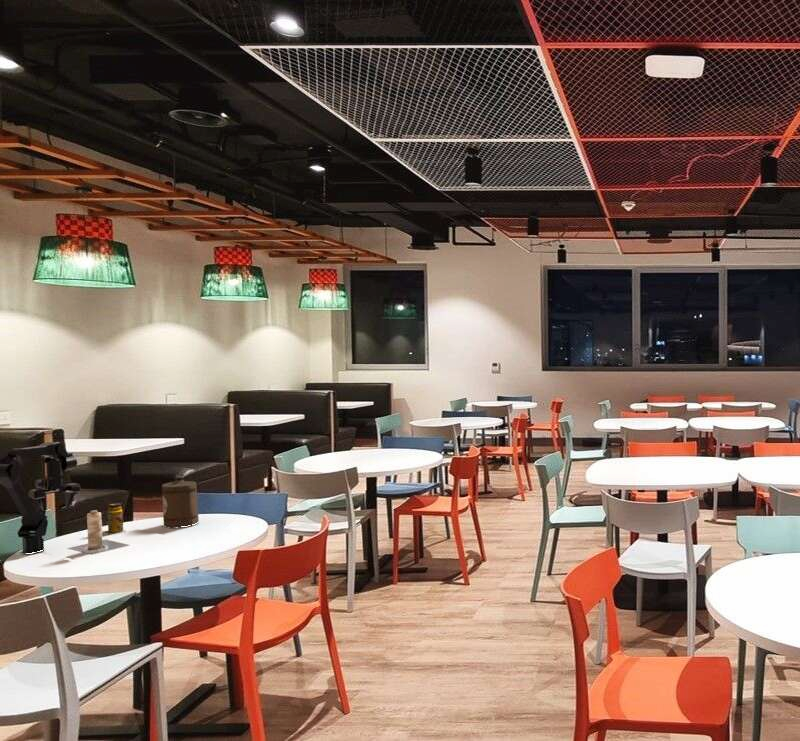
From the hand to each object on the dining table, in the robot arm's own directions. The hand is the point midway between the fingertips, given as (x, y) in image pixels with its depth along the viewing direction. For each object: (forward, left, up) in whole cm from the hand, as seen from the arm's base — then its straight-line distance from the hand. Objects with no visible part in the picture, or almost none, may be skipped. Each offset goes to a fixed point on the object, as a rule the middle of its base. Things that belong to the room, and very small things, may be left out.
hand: (55, 511), depth 297 cm
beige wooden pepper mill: (+1, -28, -12) cm, 30 cm away
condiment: (+24, -1, -13) cm, 27 cm away
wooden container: (+48, -15, -13) cm, 52 cm away
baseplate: (+5, -23, -13) cm, 27 cm away
